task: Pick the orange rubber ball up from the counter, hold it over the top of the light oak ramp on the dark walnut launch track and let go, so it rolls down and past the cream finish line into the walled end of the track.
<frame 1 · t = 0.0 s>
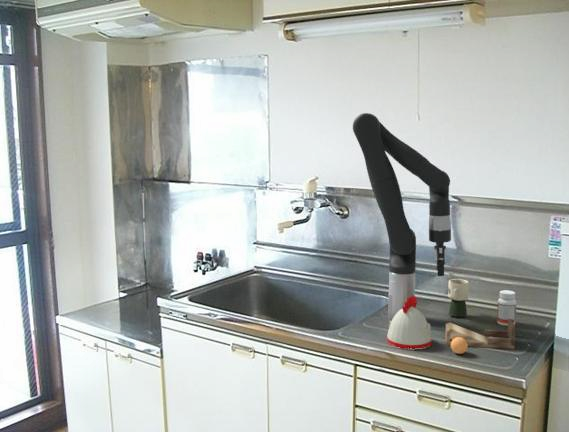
hand: (440, 273, 221), 17 cm above the worktop, tool pointing down, fingers open, 8 cm apart
pill bottle: (506, 324, 219), on the worktop
ball: (459, 345, 191), point 2 cm above the worktop
launch track: (479, 342, 200), on the worktop
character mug: (457, 316, 228), on the worktop
white dome: (409, 343, 202), on the worktop
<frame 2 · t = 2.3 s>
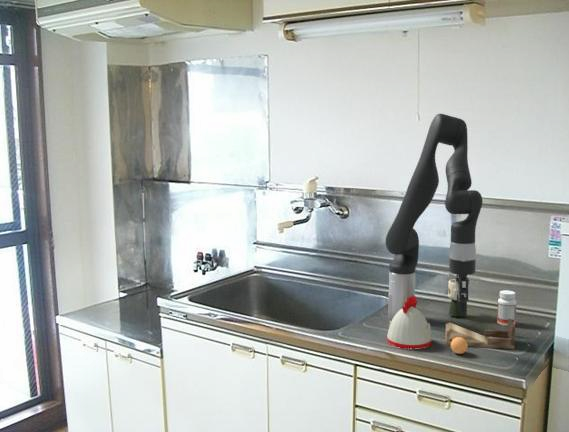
hand: (461, 309, 189), 14 cm above the worktop, tool pointing down, fingers open, 8 cm apart
nothing on the worktop moved.
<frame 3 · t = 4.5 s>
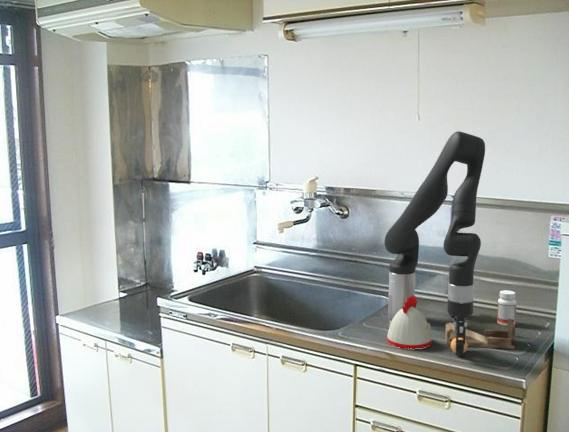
hand: (459, 352, 191), 0 cm above the worktop, tool pointing down, fingers closed on ball, 5 cm apart
ball: (459, 345, 191), point 2 cm above the worktop, touching gripper
everything else where it was.
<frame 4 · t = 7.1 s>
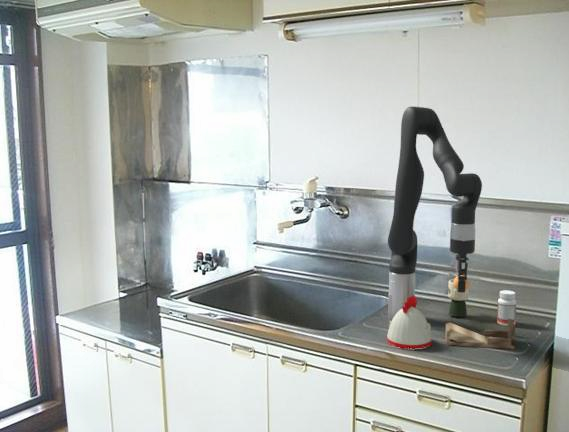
hand: (460, 289, 199), 17 cm above the worktop, tool pointing down, fingers closed on ball, 5 cm apart
ball: (461, 283, 199), point 19 cm above the worktop, touching gripper
everything else where it was.
when the fingers open (5 cm above the worktop, at t = 9.7 s): ball drops 4 cm and tips over, resting on launch track.
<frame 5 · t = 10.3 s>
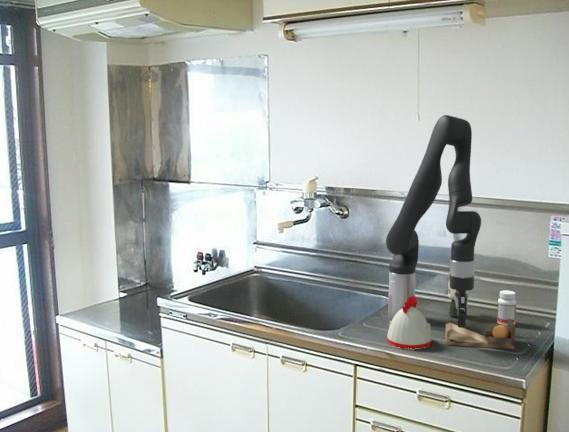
hand: (460, 323, 201), 6 cm above the worktop, tool pointing down, fingers open, 8 cm apart
ball: (500, 333, 199), point 3 cm above the worktop, tilted 49°, touching launch track
everything else where it was.
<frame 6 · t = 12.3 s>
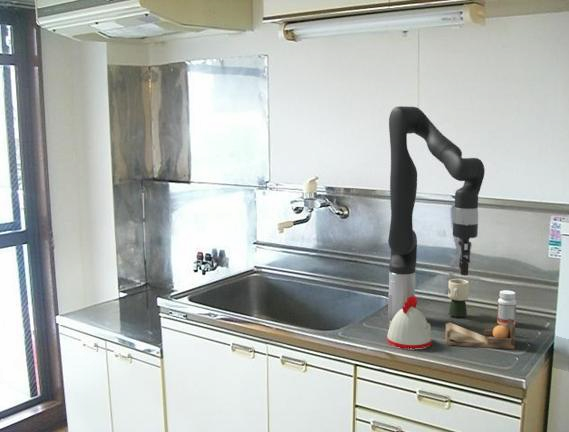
hand: (463, 271, 200), 23 cm above the worktop, tool pointing down, fingers open, 8 cm apart
nothing on the worktop moved.
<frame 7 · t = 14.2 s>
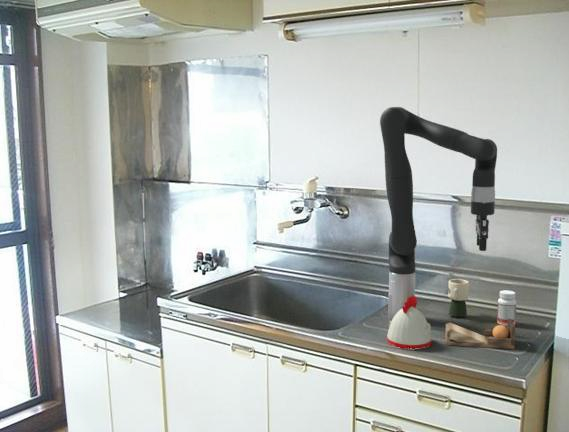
hand: (481, 248, 209), 28 cm above the worktop, tool pointing down, fingers open, 8 cm apart
nothing on the worktop moved.
at the end: ball 0.6 cm from the target spot on the launch track, point 3.5 cm above the launch track's base; the gripper is holding nothing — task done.
